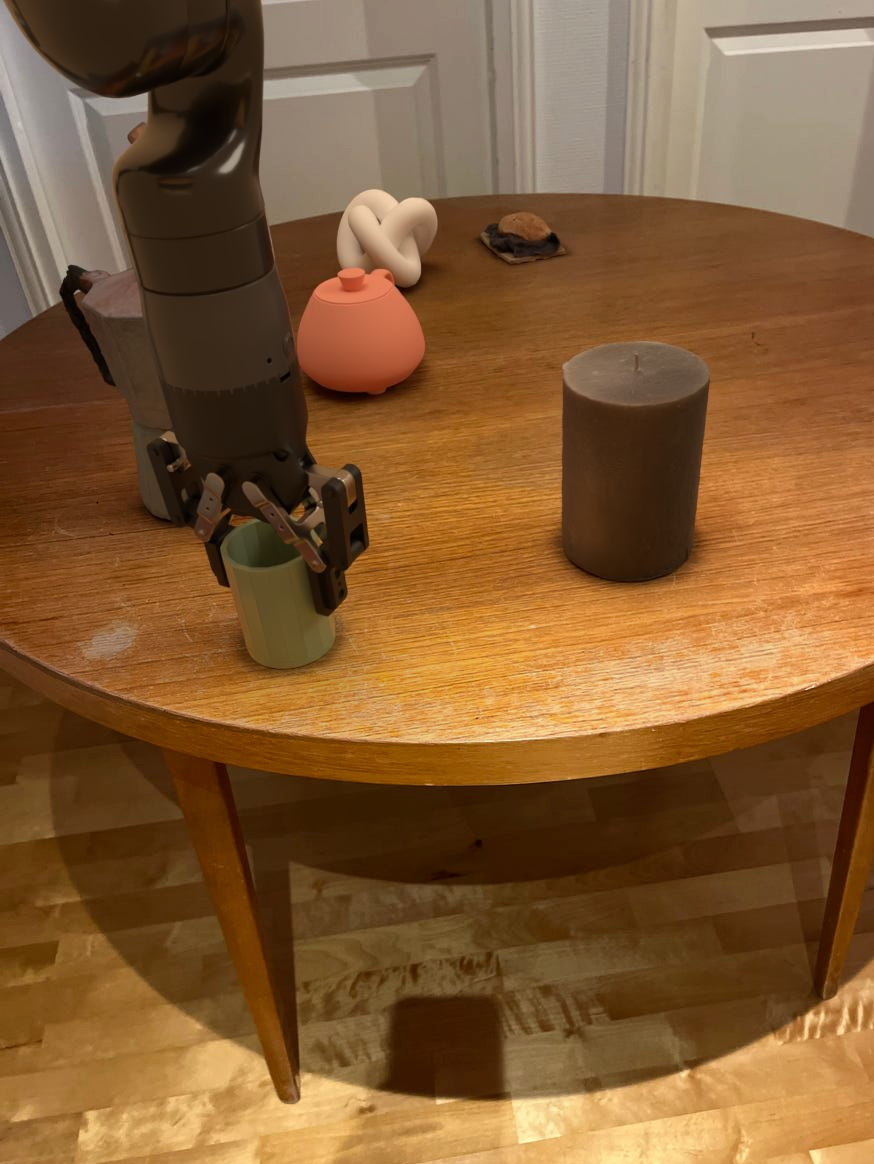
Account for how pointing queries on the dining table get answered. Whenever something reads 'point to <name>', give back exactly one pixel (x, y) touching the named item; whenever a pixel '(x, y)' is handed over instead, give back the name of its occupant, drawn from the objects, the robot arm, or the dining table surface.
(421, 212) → the cream knot sculpture
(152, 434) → the moka pot
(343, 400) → the dining table surface
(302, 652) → the cup
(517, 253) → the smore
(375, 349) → the sugar bowl
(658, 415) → the pillar candle
